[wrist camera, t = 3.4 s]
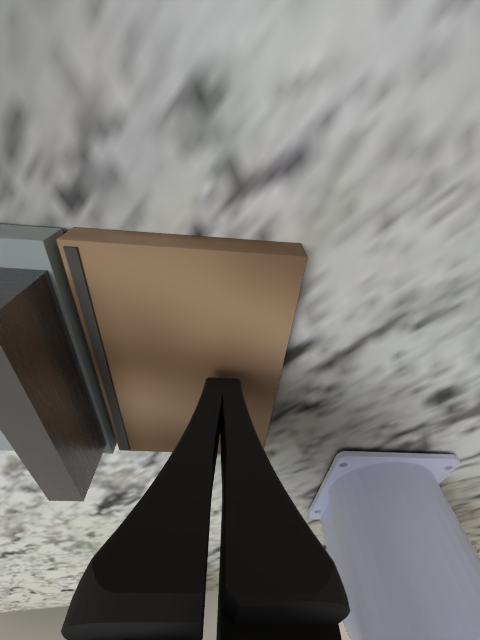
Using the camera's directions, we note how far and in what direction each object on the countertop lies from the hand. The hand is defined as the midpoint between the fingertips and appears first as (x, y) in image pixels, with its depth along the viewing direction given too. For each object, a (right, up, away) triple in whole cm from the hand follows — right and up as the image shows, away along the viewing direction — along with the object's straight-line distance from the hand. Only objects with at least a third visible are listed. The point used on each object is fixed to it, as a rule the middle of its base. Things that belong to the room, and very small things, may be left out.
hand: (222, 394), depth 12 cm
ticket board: (-1, +1, +2) cm, 2 cm away
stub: (-9, +2, +1) cm, 9 cm away
